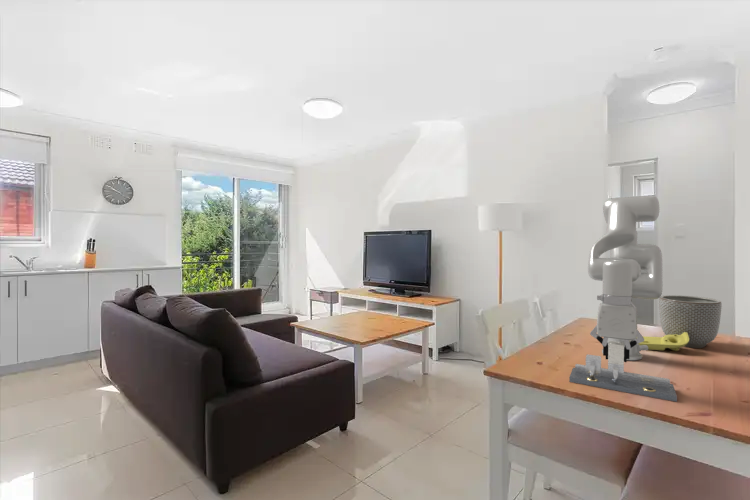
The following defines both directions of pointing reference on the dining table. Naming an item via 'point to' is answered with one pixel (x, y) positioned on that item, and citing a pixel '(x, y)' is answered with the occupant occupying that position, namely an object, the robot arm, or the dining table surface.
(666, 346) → the plastic component
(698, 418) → the dining table surface
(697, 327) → the planter
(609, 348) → the grey block with peg
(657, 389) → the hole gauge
